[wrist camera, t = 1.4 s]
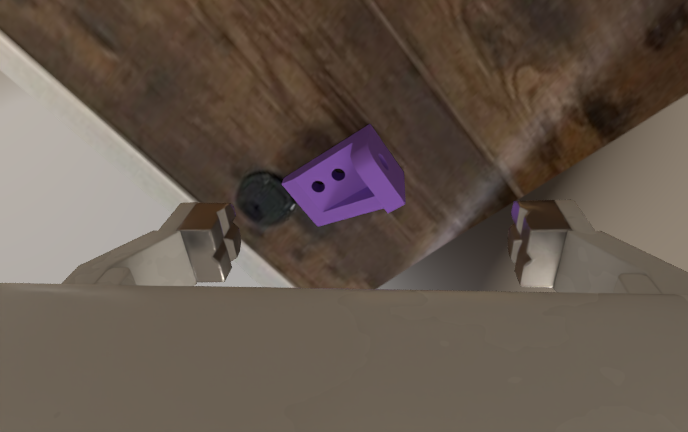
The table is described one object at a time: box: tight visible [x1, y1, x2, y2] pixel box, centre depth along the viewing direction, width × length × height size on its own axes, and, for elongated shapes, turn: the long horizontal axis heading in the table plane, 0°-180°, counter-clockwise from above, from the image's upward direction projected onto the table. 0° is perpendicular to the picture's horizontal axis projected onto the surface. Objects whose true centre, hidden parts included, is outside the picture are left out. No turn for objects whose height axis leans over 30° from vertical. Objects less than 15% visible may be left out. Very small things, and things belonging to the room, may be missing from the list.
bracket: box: [282, 124, 405, 226], centre depth 47 cm, size 12×7×7 cm, turn 125°
